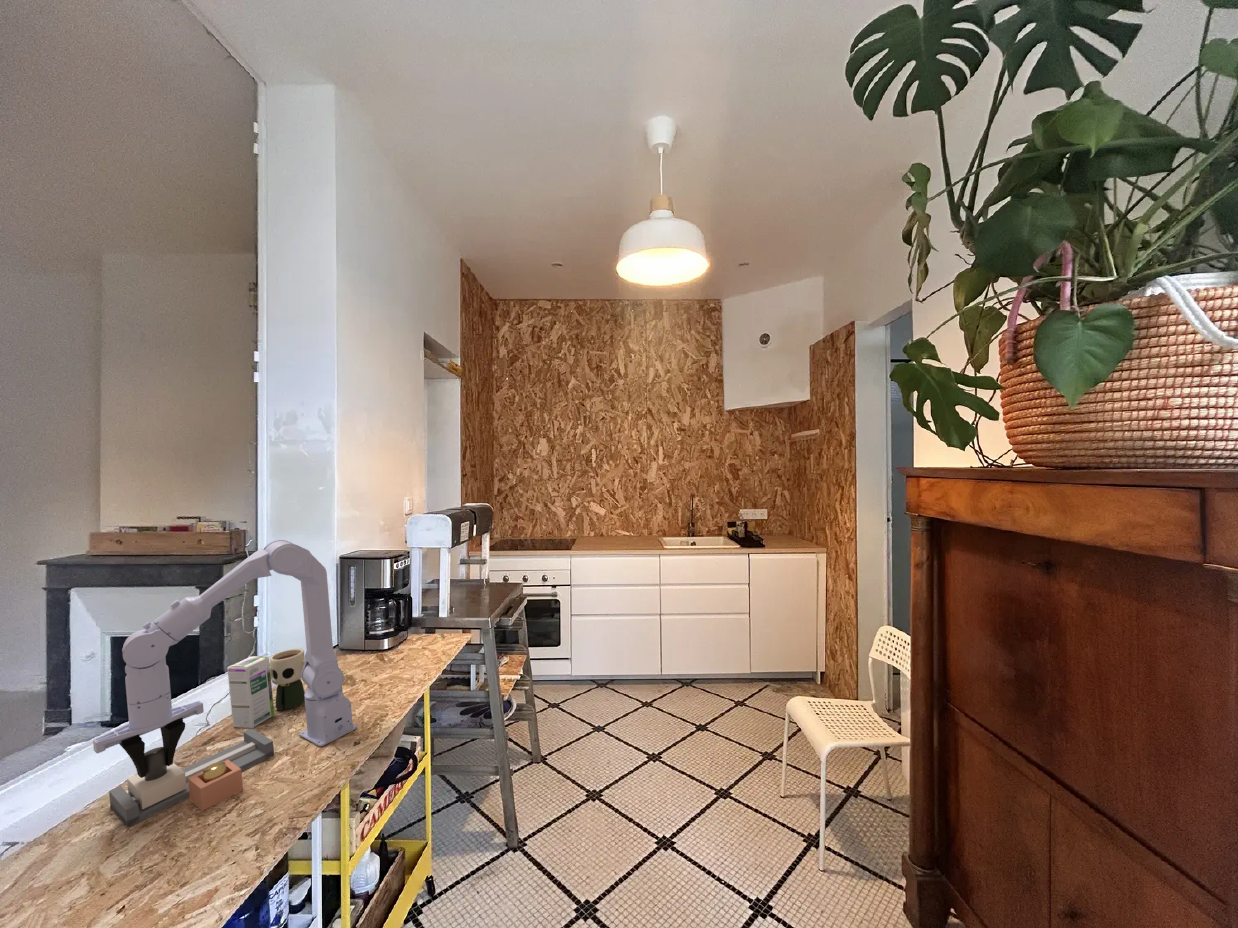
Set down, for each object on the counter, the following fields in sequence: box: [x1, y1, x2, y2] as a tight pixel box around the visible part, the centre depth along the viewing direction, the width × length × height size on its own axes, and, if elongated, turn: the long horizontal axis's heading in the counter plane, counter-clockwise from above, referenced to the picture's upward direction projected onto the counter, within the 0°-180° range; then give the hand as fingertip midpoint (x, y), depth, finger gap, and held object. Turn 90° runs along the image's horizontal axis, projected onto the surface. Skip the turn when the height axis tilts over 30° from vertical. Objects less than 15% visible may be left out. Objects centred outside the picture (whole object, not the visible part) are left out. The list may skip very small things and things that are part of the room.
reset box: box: [188, 760, 244, 812], centre depth 90 cm, size 6×6×4 cm
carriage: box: [126, 746, 186, 810], centre depth 90 cm, size 8×6×7 cm
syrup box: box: [226, 655, 275, 729], centre depth 115 cm, size 6×6×14 cm
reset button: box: [203, 761, 226, 783], centre depth 90 cm, size 3×3×3 cm
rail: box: [108, 728, 275, 828], centre depth 95 cm, size 10×22×3 cm, turn 148°
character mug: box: [269, 648, 306, 711], centre depth 122 cm, size 11×7×13 cm, turn 94°
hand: (155, 769), depth 90 cm, fingers closed on carriage, 3 cm apart
